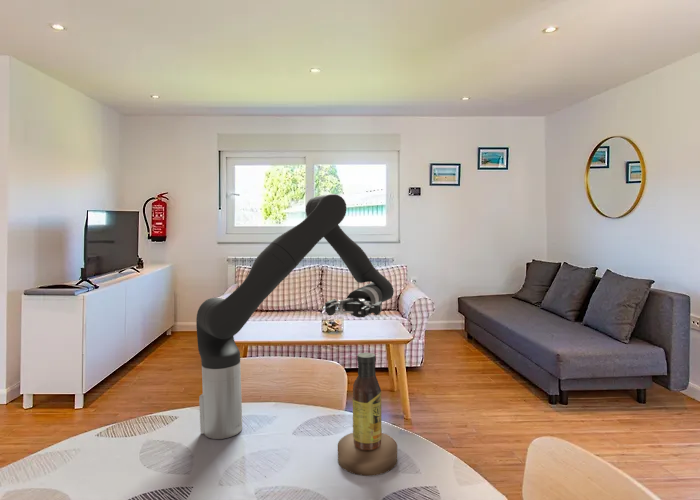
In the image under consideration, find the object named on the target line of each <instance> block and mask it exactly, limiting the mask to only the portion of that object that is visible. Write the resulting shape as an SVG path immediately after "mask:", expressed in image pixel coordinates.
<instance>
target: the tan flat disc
mask: <svg viewBox="0 0 700 500" xmlns="http://www.w3.org/2000/svg"><path fill="white" fill-rule="evenodd" d="M337 462H338V465H339V466H340V467H341V468H342V469H343V470H344V471H346V472H348V473H350V474H353V475H356V476H366V477H367V476H368V477H372V476H380V475H383V474H387V473H388V472H390V471H391V470H393V469H394V468H395V467H396V465H397V463H398V444H397V441H396V440H395V438H394V437H392V436H390V435H388V434H387V433H384V432H382V438H381V445H380V447H378V448H377V449H375V450H371V451H365V450H360V449H358V448H356V446H355V445H354V438H353V432H351V433H348V434H346V435H344V436H343V437H341V438H340V439H339V441H338V442H337Z"/></svg>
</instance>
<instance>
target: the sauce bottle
mask: <svg viewBox="0 0 700 500" xmlns="http://www.w3.org/2000/svg"><path fill="white" fill-rule="evenodd" d="M356 361H357V377H356V379H355V380H354V383H353V384H352V433H353V438H354V445H355V446H356V448H358V449H360V450H365V451H371V450H375V449H377V448H378V447H380V445H381V438H382V433H383V432H382V431H383V430H382V429H383V428H382V426H383V425H382V390H381V386H380V384H379V381H378V378H377V375H376V362H377V357H376V353H375V354H374V353H372V352H359V353H358V354H357V355H356Z"/></svg>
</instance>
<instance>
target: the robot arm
mask: <svg viewBox="0 0 700 500" xmlns="http://www.w3.org/2000/svg"><path fill="white" fill-rule="evenodd" d="M346 203H347V202H346V200H345V198H343V197H342V196H341V195H339V194H336V193H325V194H322V195H321V194H320V195H317V196H313V197H312V198H310V199H309V200H308V201H307V203H306V205H305V214H306V217H305V219H304V220H302V221H300V222H299V223H298V224H297V225H295V226H293V227H292V228H290V229H288V230H287V231H286V232H284V233H282V234H281V235H279V236H278V237H277V238H275V239H274V240H273V241H272V242H271V243H269V245H267V247H265V249H263V250H262V251H261V252H260V254H259V255H258V256H257V257H256V259H255V260H254V262H253V264H252V265H251V268H250V270H249V272H248V274H247V275H246V277H245V279H244V281H243V282H242V283H241V284H240V285H239V286H238V287H237V288H236V289H235V290H234V291H232V292H231V294H229V295H228V296H227V297H226V298H222V297H211V298H207V299H206V300H204V301H203V302H202V303H201V304H200V305H199V307H198V310H197V313H196V320H195V321H196V322H195V323H196V335H197V337H196V338H197V339H196V340H197V349H198V354H199V356H200V361H201V378H202V379H201V381H202V383H201V387H202V394H200V395H199V396H198V398H199V399H198V401H199V402H198V403H199V427H200V434H202V435H204V436H205V437H206V438H207V439H208V438H209V439H213V440H222V439H228V438H231V437H234V436H236V435H238V434H240V433H241V431H242V430H243V405H242V403H243V401H242V371H241V369H242V368H241V352H240V349H239V347H238V346H237V344H236V342H235V337H234V336H235V335H237V334H238V333H240V331H241V330H242V328H244V327H245V325H246V323H247V322H248V321H249V319H250V318H251V317H252V316H253V315H254V313H255V312H256V311H257V309H258V308H259V306H261V304H262V303H263V302H264V301H265V299H266V298H268V296H270V295H271V293H272V292H273V291H274V290H275V289H276V288H277V287H278V286H279V285H280V284H281V283H282V282H283V281H284V280H285V279H286V278H287V277H288V276H289V275H290V274H291V273H292V272H293V270H294V269H296V267H298V265H299V264H300V263H301V262H302V260H303V259H304V258H306V256H307V255H308V254H309V253H310V252H311V251H312V250H313V248H314V247H315V246H316V245H317V244H319V242H320V241H321V240H322V239H323V238H324V239H325V240H326V241H327V243H328V244H329V245H330V246H331V247H332V248H333V250H334V251H335V252H336V254H337V255H338V257H339V258H340V259H341V260H342V262H343V263H344V264H345V266H346V268H347V269H348V272H349V273H350V274H351V276H352V277H353V279H354V280H355V281H356V282H357V283H359V284H362V283H363V284H364V283H367V284H365V285H364V286H361V287H358V288H357V289H355V290H353V291H351V292H350V293H348V295H347V297H346V298H345V299H339V300H337V299H336V298H333V299H331V300H328V301H326V302H324V304H325V305H324V307H325V309H324V311H325V313H326V314H327V315H328V316H333V315H335V314H337V313H338V314H340V315H344V314H350V316H353V317H355V318H365V317H367V316H371V315H372V314H373V315H374V316H379V315H380V314H381V313H382V312H383V303H384V302H386V301H388V300H390V299H392V298H393V296H394V291H395V290H394V287H393V285H392V283H391V282H390V281H389V280H388V279H387V278H386V277H385V276H384V275H382V273H381V272H379V270H377V269H376V267H375V266H374V265H373V264H372V262H371V260H370V258H369V257H368V255H367V253H366V252H365V250H363V249H362V247H360V245H358V244H357V243H356V242H355V241H354V240H353V239H351V237H349V235H348V234H347V233H345V232H344V230H343V229H342V228H341V226H340V223H342V221H343V220H344V219H345V216H346V213H347V204H346Z"/></svg>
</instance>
